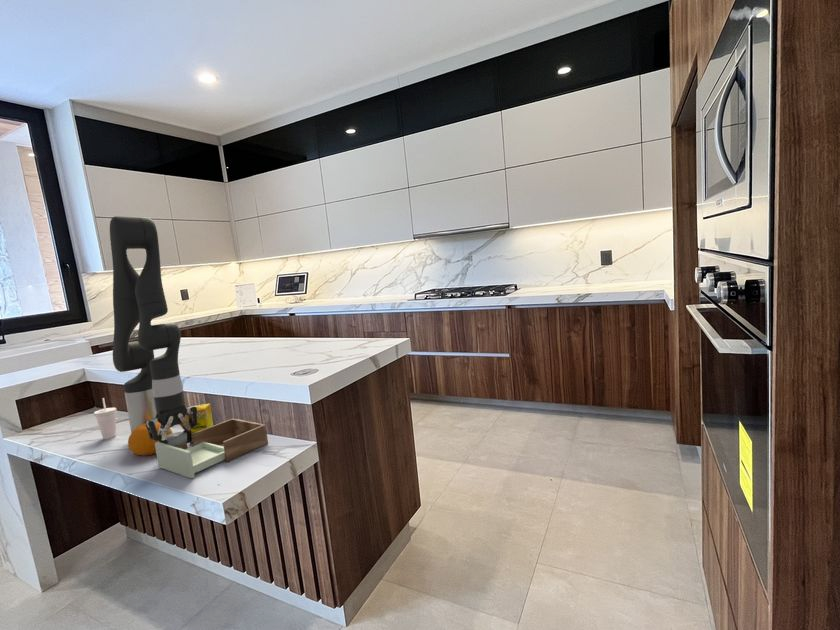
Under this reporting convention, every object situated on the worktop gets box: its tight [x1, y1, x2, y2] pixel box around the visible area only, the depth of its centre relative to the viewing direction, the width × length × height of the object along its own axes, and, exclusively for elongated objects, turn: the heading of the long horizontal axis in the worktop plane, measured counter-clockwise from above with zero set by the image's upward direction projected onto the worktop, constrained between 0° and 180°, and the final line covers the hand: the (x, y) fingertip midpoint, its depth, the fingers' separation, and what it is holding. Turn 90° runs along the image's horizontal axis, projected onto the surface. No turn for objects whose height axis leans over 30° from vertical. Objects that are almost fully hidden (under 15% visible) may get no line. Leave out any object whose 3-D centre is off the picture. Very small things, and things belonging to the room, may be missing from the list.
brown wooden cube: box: [177, 442, 189, 450], centre depth 125 cm, size 4×4×4 cm
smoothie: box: [93, 397, 118, 440], centre depth 147 cm, size 6×6×14 cm
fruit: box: [127, 422, 173, 456], centre depth 131 cm, size 12×12×10 cm
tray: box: [155, 442, 225, 479], centre depth 119 cm, size 17×13×7 cm
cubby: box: [192, 418, 269, 463], centre depth 128 cm, size 17×14×6 cm
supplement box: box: [185, 403, 214, 444], centre depth 137 cm, size 6×6×11 cm
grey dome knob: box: [166, 431, 188, 447], centre depth 125 cm, size 6×6×2 cm
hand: (176, 446), depth 125 cm, fingers closed on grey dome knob, 6 cm apart
